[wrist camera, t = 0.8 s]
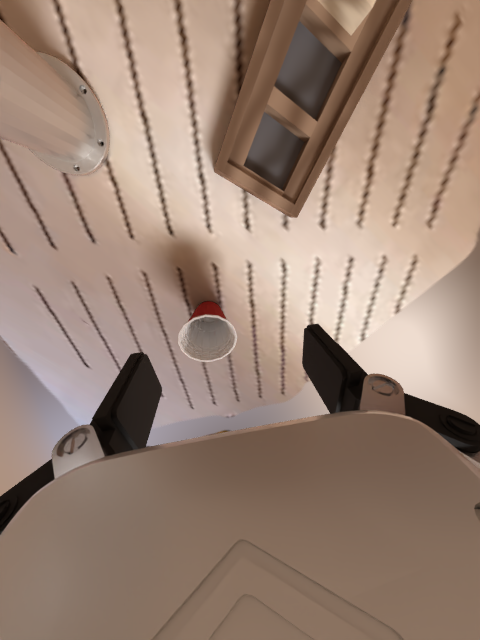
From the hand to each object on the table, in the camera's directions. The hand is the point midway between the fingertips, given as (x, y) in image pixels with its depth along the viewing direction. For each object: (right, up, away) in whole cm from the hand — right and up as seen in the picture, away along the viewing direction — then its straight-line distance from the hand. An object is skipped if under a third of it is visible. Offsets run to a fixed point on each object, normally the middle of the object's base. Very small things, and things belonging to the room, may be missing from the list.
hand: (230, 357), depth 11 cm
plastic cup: (-7, +4, +34) cm, 35 cm away
